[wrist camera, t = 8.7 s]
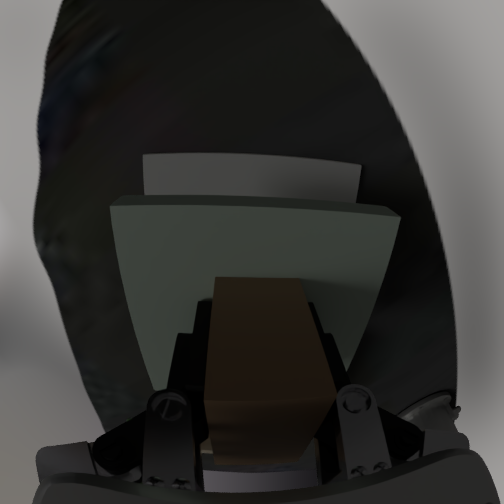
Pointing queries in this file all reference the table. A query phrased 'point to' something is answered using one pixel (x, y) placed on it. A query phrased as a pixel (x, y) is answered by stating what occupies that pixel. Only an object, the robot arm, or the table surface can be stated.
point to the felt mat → (250, 176)
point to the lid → (253, 304)
